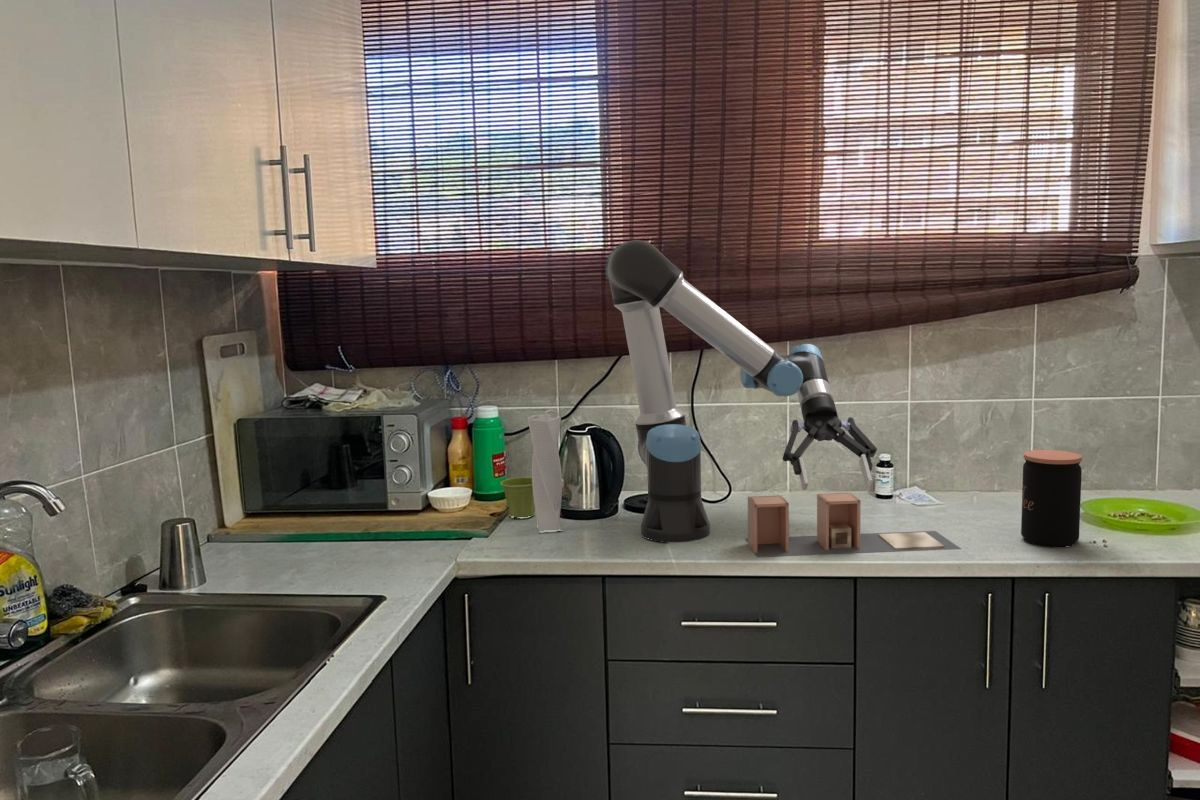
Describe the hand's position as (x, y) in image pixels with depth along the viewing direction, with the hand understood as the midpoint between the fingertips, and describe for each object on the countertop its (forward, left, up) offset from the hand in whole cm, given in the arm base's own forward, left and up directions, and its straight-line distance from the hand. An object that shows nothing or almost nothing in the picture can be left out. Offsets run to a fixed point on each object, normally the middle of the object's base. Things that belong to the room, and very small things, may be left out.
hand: (837, 485), depth 188 cm
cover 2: (-2, -7, -11) cm, 13 cm away
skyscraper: (-62, +14, -11) cm, 64 cm away
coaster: (+13, -7, -11) cm, 18 cm away
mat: (+1, -7, -11) cm, 13 cm away
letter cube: (-2, -7, -11) cm, 13 cm away
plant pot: (-69, +27, -11) cm, 75 cm away
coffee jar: (+41, -9, -11) cm, 44 cm away
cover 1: (-16, -7, -11) cm, 21 cm away
